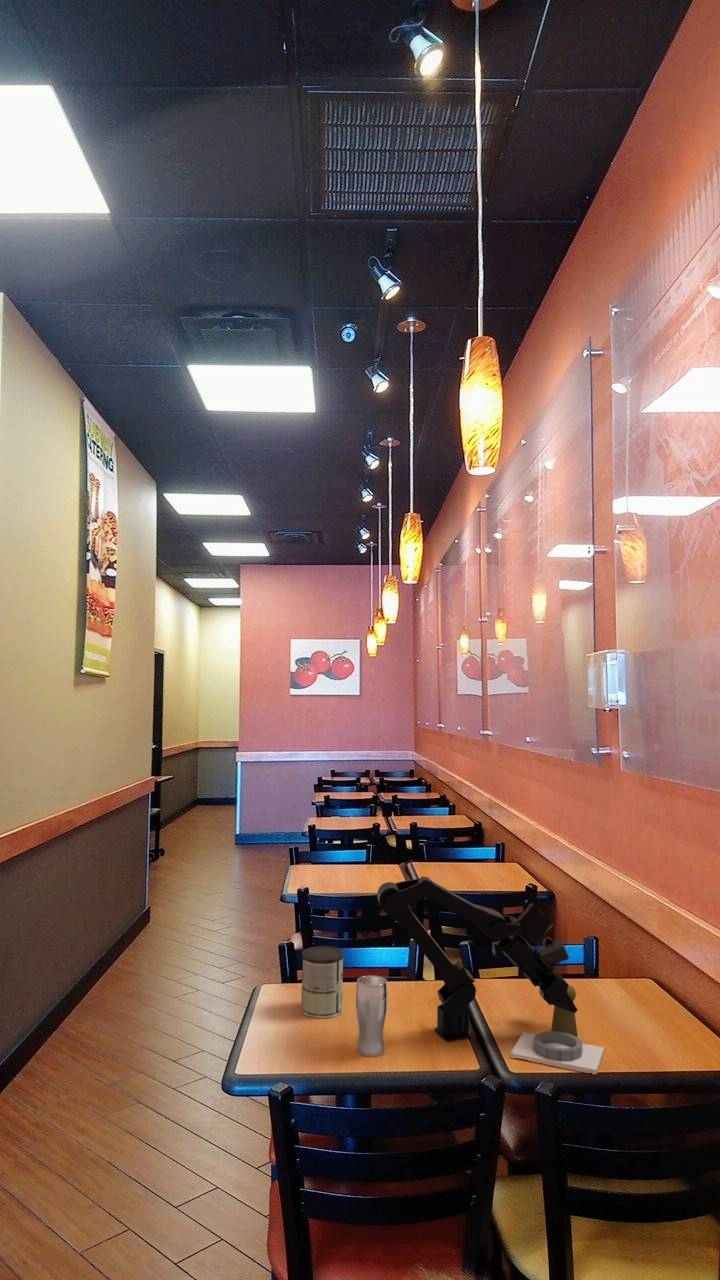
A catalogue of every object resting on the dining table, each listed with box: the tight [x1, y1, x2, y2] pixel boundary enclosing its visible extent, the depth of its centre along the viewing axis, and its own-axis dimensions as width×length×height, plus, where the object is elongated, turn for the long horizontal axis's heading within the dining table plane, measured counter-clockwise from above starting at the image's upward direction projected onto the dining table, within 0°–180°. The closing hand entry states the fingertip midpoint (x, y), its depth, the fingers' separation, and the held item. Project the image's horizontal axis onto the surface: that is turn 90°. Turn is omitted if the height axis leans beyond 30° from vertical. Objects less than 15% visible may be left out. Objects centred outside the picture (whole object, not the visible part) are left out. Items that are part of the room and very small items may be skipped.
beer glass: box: [355, 975, 389, 1058], centre depth 177 cm, size 7×7×15 cm
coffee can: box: [300, 945, 345, 1020], centre depth 200 cm, size 10×10×14 cm
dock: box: [510, 1030, 605, 1075], centre depth 177 cm, size 18×12×3 cm, turn 66°
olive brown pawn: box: [550, 984, 578, 1037], centre depth 188 cm, size 6×6×11 cm
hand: (569, 1003), depth 188 cm, fingers open, 9 cm apart
